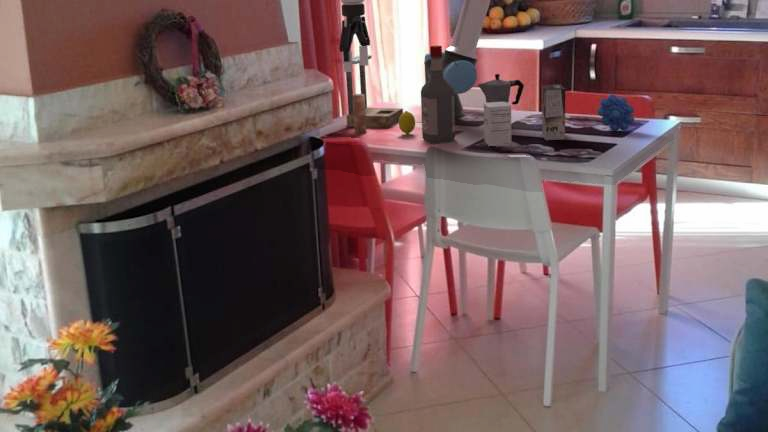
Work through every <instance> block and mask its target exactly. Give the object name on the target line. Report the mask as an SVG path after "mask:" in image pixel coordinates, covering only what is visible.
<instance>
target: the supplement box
mask: <svg viewBox="0 0 768 432" xmlns="http://www.w3.org/2000/svg"><path fill="white" fill-rule="evenodd" d="M511 125H512V106H511V104H510V103H509V102H508V103H507V102H490V103H486V102H483V138H484V139H483V141H484V143H485V144H486V146H488V147H489V146H496V147H501V146H500V145H510V146H512V126H511Z"/></svg>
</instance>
